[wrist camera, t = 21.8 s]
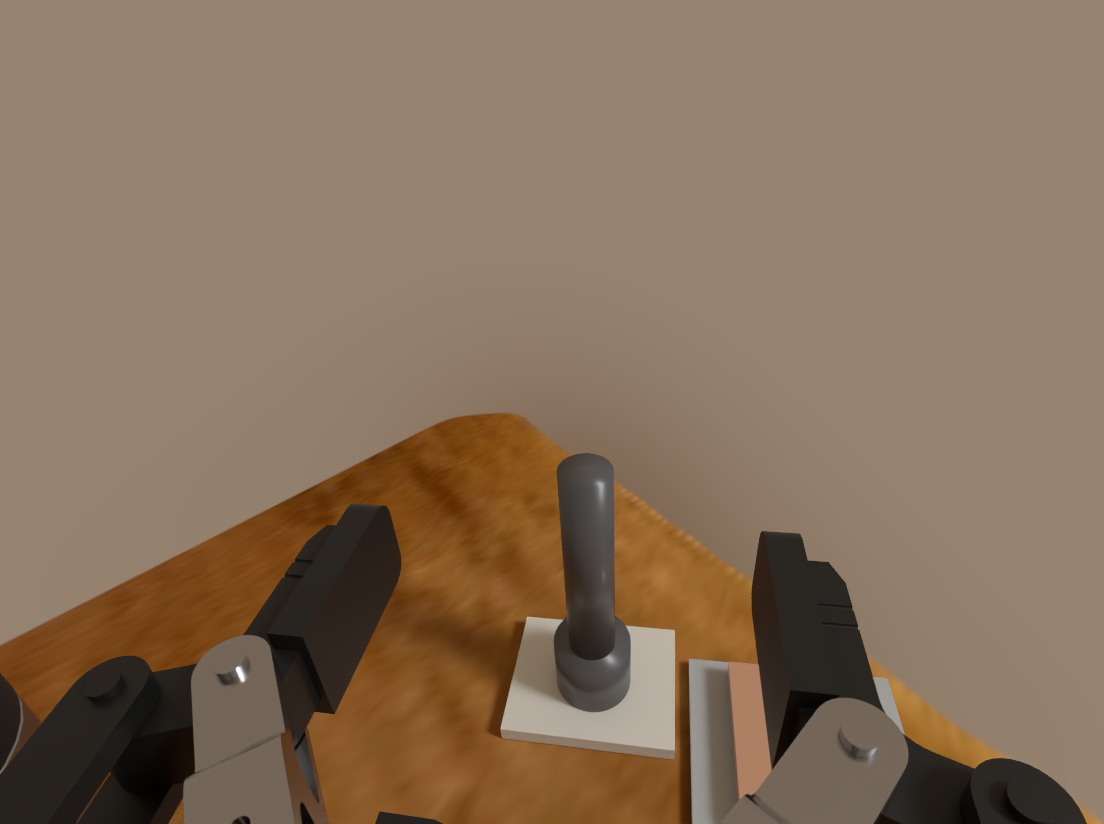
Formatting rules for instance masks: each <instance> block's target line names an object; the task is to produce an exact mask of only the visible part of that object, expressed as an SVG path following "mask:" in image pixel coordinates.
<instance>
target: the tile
mask: <svg viewBox="0 0 1104 824" xmlns="http://www.w3.org/2000/svg"><path fill="white" fill-rule="evenodd" d="M727 687H728V700H729V713H730V727H731V740H732V753H733V767H734V780H735V793H736V803H737V802H738V801H739V800H740V799H741V798H742V797H743V796H744V795H746V794H749V795H752V794H754V793H755V792H756V791H757V790H758V788H759V787H760V786H761V784H762V783H763V782H764V780H765V779H766V778H767V776H768V775H769V774H770V772H771V771H772V769H771V761H770V753H769V745H768V737H767V729H766V721H765V713H764V705H763V697H762V688H761V680H760V672H759V665H758V664H748V663H738V662H728V669H727Z"/></svg>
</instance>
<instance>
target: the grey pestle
mask: <svg viewBox="0 0 1104 824" xmlns="http://www.w3.org/2000/svg"><path fill="white" fill-rule="evenodd" d="M557 481H558V495H559V509H560V523H561V537H562V551H563V565H564V579H565V593H566V607H567V618H565V619H564V620H563V621H562V622H561V623H560V624H559V626H558V628H557V629H556V632H555V635H554V653H555V664H556V675H557V684H558V688H559V691H560V693H561V695H562V696H563V698H564V699H565V700H566V701H567V702H568V703H569V704H570V705H572V706H573V707H575V708H577V709H579V710H582V711H586V712H602V711H606V710H609V709H611V708H613V707H615V706H616V705H618V704H619V703H620V702H621V701H622V700H623V699H624V698H625V696H626V695H627V693H628V690H629V687H630V666H631V639H630V634H629V631H628V629H627V627H626V626H625V624H624V623H623V622H622V621H621V620H620V619H619V618H617V617H616V616H615V571H614V475H613V466H612V464H611V463H610V462H609V461H608V460H607V459H606V458H604V457H602V456H599V455H595V454H588V453H585V454H576V455H573V456H570V457H568V458H566V459H564V460H563V461H562V462H561V463H560V464H559V466H558V468H557Z"/></svg>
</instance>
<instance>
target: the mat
mask: <svg viewBox="0 0 1104 824" xmlns="http://www.w3.org/2000/svg"><path fill="white" fill-rule="evenodd" d="M727 669H728V662H718V661H708V660H698V659H689V711H690V763H691V816H692V824H721V822H722V821H723V820H724V818H725V817H726V816H727V814H728V813H729V812H730V810H731V809H732V808H733V807H734V805H735V804H736V793H735V780H734V767H733V753H732V740H731V727H730V713H729V700H728V687H727ZM873 679H874V683H875V686H876V689H877V693H878V696H879V700H880V702H881V705H882V707H883V709H884V711H885V713H886V715H887V716H889V717H890V718H891V719H892V720H893V721H894V723H895V724H896V725H897V726H898V727H899V729H900V731H901V732H902V733H903V734H904V730H903V727H902V724H901V721H900V718H899V714H898V711H897V708H896V705H895V701H894V698H893V695H892V692H891V689H890V685H889V682H888V679H887V678H880V677H873ZM904 735H905V734H904Z"/></svg>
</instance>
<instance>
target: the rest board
mask: <svg viewBox="0 0 1104 824" xmlns="http://www.w3.org/2000/svg"><path fill="white" fill-rule="evenodd" d="M562 621H563V620H558V619H547V618H536V617H527V620H526V624H525V628H524V632H523V637H522V641H521V645H520V649H519V653H518V657H517V662H516V666H515V670H514V674H513V678H512V682H511V686H510V691H509V695H508V699H507V703H506V707H505V711H504V715H503V720H502V724H501V728H500V731H501V736H502V738H505V739H513V740H521V741H529V742H537V743H545V744H553V745H561V746H569V747H577V748H585V749H593V750H601V751H609V752H617V753H625V754H633V755H641V756H649V757H657V758H665V759H673V760H674V753H675V630H666V629H656V628H645V627H634V626H626V627H627V629H628V631H629V634H630V639H631V666H630V687H629V690H628V693H627V695H626V696H625V698H624V699H623V700H622V701H621V702H620V703H619V704H618V705H616V706H615V707H613V708H611V709H609V710H606V711H602V712H586V711H582V710H579V709H577V708H575V707H573V706H572V705H570V704H569V703H568V702H567V701H566V700H565V699H564V698H563V696H562V695H561V693H560V691H559V688H558V684H557V675H556V664H555V653H554V635H555V632H556V629H557V628H558V626H559V624H560V623H561V622H562Z"/></svg>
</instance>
